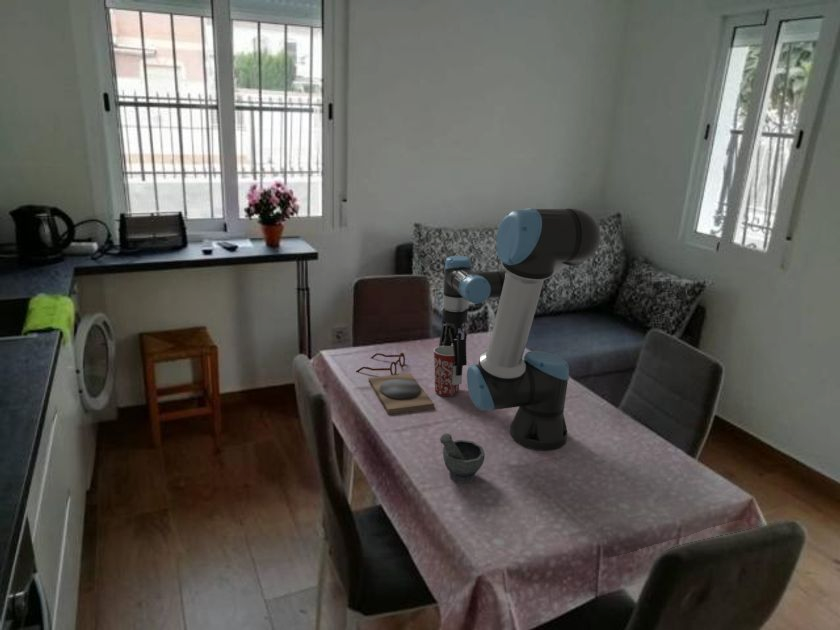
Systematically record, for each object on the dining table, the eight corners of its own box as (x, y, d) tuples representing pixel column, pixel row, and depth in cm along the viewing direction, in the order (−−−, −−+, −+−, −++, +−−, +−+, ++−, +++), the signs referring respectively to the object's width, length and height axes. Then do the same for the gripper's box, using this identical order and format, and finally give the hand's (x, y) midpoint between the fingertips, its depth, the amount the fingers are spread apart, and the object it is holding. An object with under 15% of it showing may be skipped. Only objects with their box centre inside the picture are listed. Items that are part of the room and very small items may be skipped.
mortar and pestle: (470, 461, 150) (474, 418, 146) (489, 482, 142) (494, 437, 138) (429, 470, 146) (432, 426, 142) (447, 492, 138) (450, 446, 134)
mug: (450, 400, 180) (452, 357, 177) (426, 392, 186) (427, 350, 182) (473, 387, 190) (475, 347, 187) (449, 380, 195) (451, 341, 192)
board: (433, 408, 176) (434, 400, 175) (387, 414, 172) (387, 406, 171) (410, 377, 196) (410, 370, 195) (368, 381, 191) (368, 374, 190)
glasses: (392, 379, 195) (392, 365, 193) (355, 373, 198) (355, 359, 197) (405, 364, 207) (406, 351, 205) (370, 358, 210) (370, 345, 209)
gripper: (482, 319, 171) (476, 391, 178) (453, 296, 190) (449, 362, 197) (457, 320, 168) (452, 394, 176) (431, 298, 188) (427, 365, 195)
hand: (450, 377), depth 186 cm, fingers closed on mug, 9 cm apart
